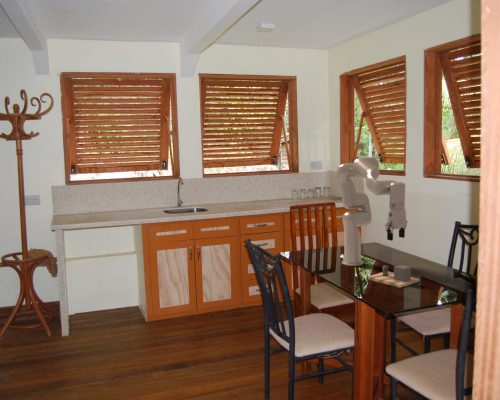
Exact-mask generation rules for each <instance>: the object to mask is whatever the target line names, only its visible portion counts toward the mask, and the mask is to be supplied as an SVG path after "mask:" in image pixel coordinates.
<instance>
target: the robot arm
mask: <svg viewBox="0 0 500 400" xmlns="http://www.w3.org/2000/svg"><path fill="white" fill-rule="evenodd" d="M379 167H380V162H379V160H378V159H377V158H376V157H373V156H369V157H368V156H365V157H363V156H362V157H361V156H360V157H357V158H356V159H354V161H353V162H344V163H342V164H340V165H339V166H338V168H337V170H336V178H337V181H338V184H339V186H340V193H341V201H342V205H343V207H344V209H348V210H349V211H346V212H345V213H343V215H342V223H343V231H344V232H343V233H344V237H343V238H344V241H343V243H344V249H343V250H344V254H341V255H340V256H339V257H340V258H341V259H342V260H341V264H342V265H344V266H350V267H351V266H352V267H353V266H354V267H356V266H357V267H359V266H362V265H364V261H363V260H361V259H362V258H361V257H362V256H361V255H362V252H361V251H362V250H361V249H362V248H361V245H362V243H361V242H362V240H361V239H362V233H361V232H360V230H359V228H358V227H366V226H369V225H371V223H372V220H373V219H372V211H371V210H372V209H371V204H370V198H369V196H368V195H367V194H366V192H363V191H361V192H357V190H356V184H355V182H354V181H353V180H352V178H360V177H362V178H364V179H365V185H366V187H367V189H368V190H369V191H370V192H371V193H372V194H374V195H375V196H387V195H388V196H389V203H388V204H389V205H388V207H389V208H388V214H387V222H386V223H385V225H384V228H385V231H386V234H387V235H386V240H388V241H393V240H394V230H398V237H399V238H402V239H405V235H406V233H405V232H406V228H407V224H408V220H407V212H406V207H405V206H406V205H405V204H406V203H405V202H406V200H405V199H406V183H404V182H402V181H396V180H394V179H393V180H392V179H391V180H377V179H378V178H379V176H380V169H379ZM353 209H358V210H353ZM350 210H351V211H350Z"/></svg>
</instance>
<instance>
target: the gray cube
mask: <svg viewBox="0 0 500 400" xmlns="http://www.w3.org/2000/svg"><path fill="white" fill-rule="evenodd" d="M393 273H394V279H395V280H399V281H403V282H405V281H408V280H411V277H412V267H411V266H407V265H404V264H403V265H402V264H399V265H396V266H394V267H393Z"/></svg>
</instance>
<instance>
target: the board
mask: <svg viewBox="0 0 500 400" xmlns="http://www.w3.org/2000/svg"><path fill="white" fill-rule="evenodd" d="M367 280H369V281H373V282H377V283H380V284H384V285H388V286H389V285H390V286H392V287H396V288H400V289H401V288H404V287H407V286H410V285H413V284H415V283H419V282H420V278H418V277H415V276H414V277H413V276H411V280H408V281H405V282H403V281H399V280H395V279H394V271H393V272H392V271H389V266H388V265H382V272H379V273H375V274H372V275H368V276H367Z"/></svg>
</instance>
